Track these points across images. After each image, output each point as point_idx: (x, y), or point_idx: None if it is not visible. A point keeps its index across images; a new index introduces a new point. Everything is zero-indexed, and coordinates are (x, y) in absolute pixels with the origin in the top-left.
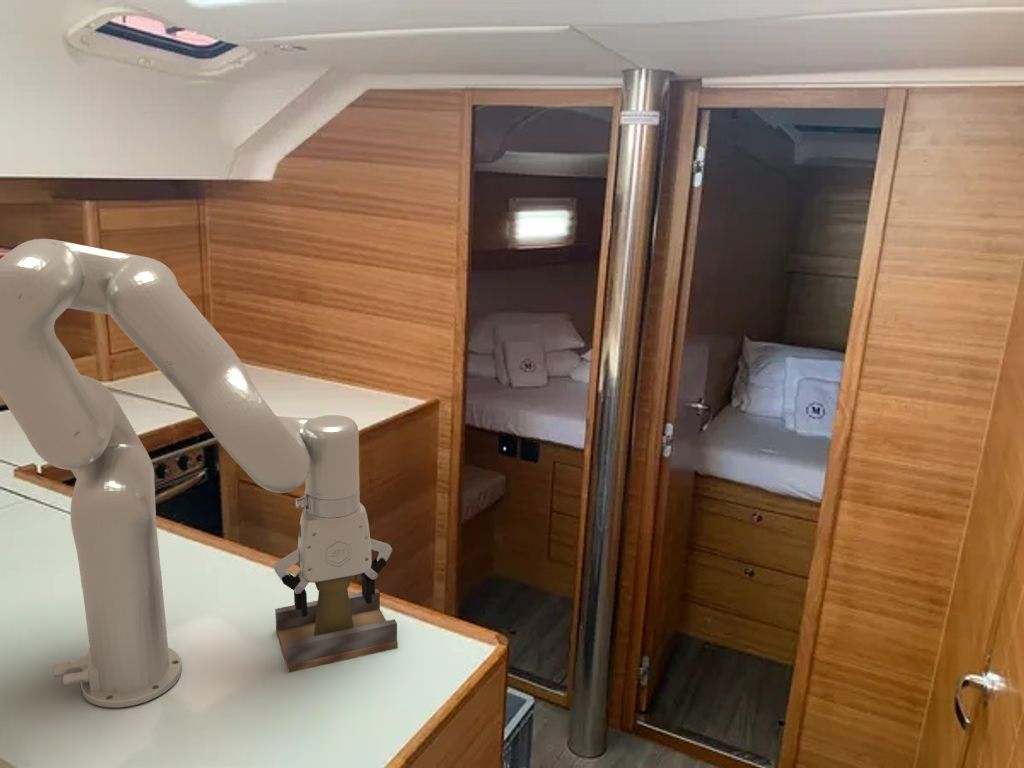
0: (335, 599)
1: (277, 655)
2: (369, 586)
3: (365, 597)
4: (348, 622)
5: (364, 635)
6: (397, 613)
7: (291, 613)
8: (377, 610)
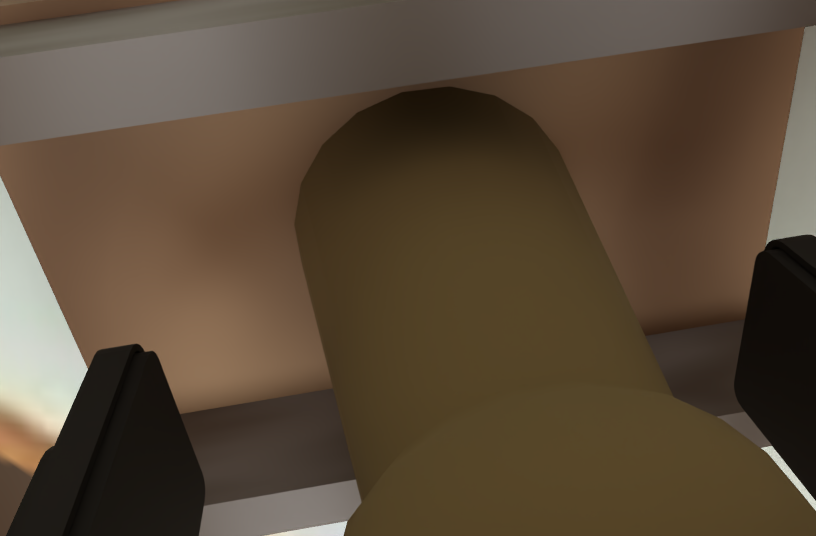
0: (532, 343)
1: (792, 115)
2: (54, 509)
3: (161, 417)
4: (348, 208)
5: (208, 15)
6: (4, 395)
7: (716, 395)
8: None
